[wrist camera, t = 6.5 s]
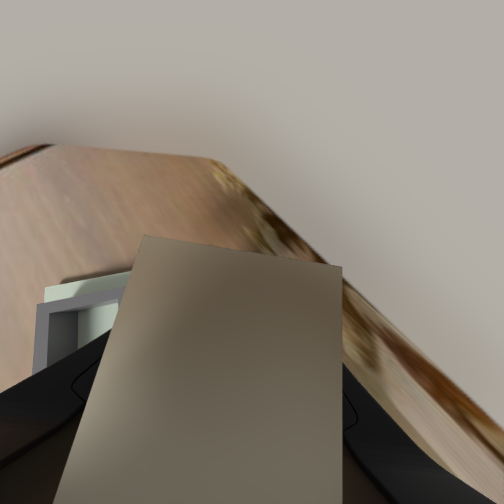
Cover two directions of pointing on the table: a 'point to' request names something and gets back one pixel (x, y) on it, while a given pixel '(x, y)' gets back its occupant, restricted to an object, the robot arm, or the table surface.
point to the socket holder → (75, 316)
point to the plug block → (215, 384)
